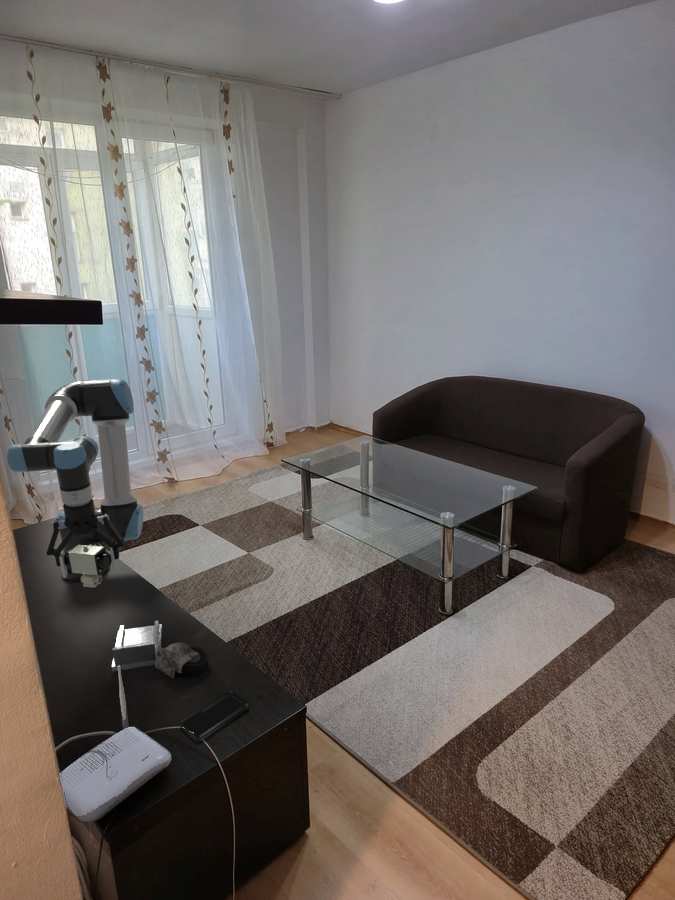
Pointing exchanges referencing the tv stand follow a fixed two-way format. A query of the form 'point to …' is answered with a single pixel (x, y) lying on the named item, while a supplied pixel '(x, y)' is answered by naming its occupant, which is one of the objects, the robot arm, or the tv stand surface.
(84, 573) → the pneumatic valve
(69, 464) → the robot arm
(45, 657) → the tv stand surface
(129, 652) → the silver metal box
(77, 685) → the tv stand surface
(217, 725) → the phone
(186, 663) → the caster wheel
